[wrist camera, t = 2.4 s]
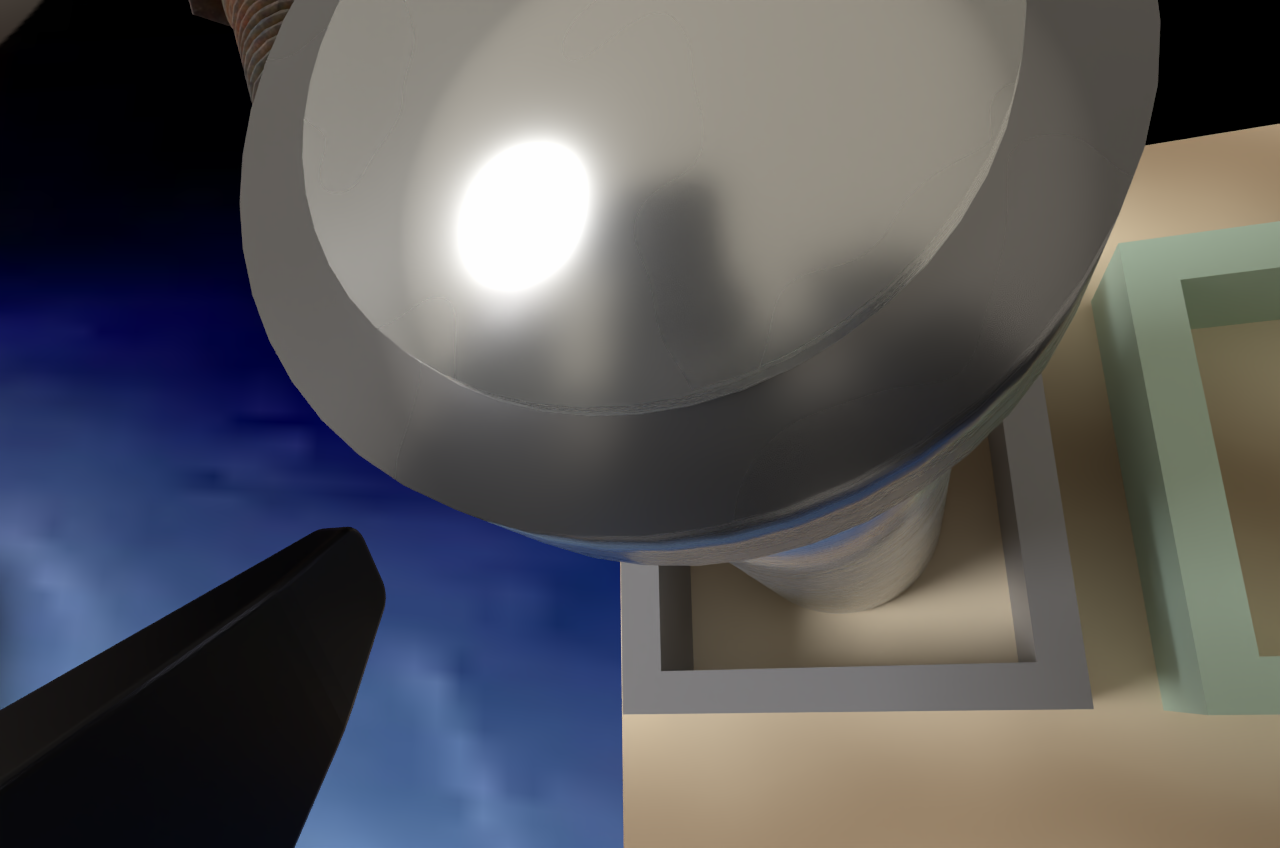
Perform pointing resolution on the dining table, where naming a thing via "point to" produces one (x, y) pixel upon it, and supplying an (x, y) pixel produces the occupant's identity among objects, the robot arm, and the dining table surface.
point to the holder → (1038, 682)
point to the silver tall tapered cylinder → (689, 256)
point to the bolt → (248, 29)
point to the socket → (1186, 455)
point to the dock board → (1009, 629)
